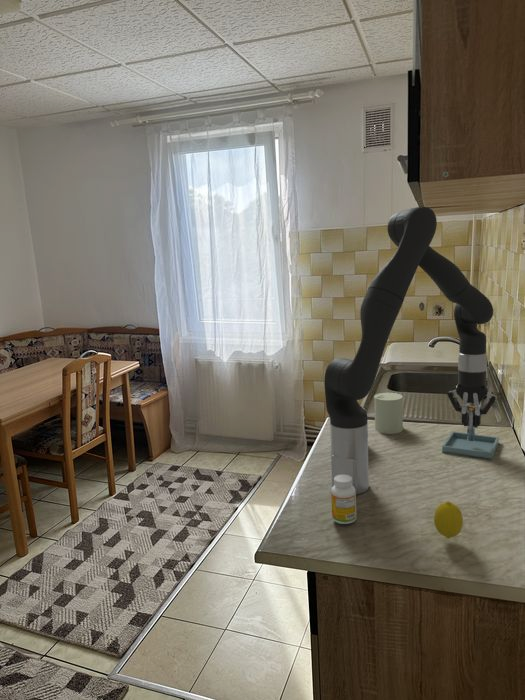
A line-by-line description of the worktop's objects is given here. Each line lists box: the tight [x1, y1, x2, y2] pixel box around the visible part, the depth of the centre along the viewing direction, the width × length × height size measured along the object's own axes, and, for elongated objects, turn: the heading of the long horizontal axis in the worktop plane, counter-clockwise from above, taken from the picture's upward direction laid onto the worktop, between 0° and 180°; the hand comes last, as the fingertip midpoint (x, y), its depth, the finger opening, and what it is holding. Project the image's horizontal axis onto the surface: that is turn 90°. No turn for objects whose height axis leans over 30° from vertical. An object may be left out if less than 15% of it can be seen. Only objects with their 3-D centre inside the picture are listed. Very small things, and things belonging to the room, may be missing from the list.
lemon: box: [433, 500, 464, 539], centre depth 104 cm, size 6×6×8 cm
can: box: [373, 392, 404, 435], centre depth 167 cm, size 9×9×12 cm
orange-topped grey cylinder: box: [466, 405, 476, 441], centre depth 148 cm, size 2×2×10 cm
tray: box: [441, 431, 500, 461], centre depth 149 cm, size 13×13×2 cm
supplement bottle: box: [330, 475, 357, 525], centre depth 113 cm, size 5×5×10 cm
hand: (471, 425), depth 148 cm, fingers closed
